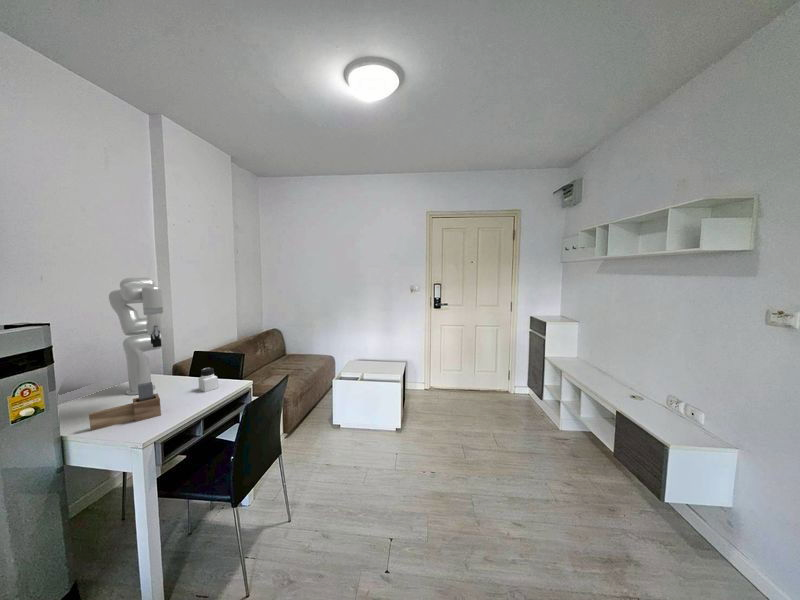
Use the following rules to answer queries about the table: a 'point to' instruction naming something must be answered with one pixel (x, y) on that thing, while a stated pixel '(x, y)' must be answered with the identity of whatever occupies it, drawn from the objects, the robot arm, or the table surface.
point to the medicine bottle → (208, 380)
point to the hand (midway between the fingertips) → (156, 345)
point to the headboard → (126, 413)
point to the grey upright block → (145, 391)
